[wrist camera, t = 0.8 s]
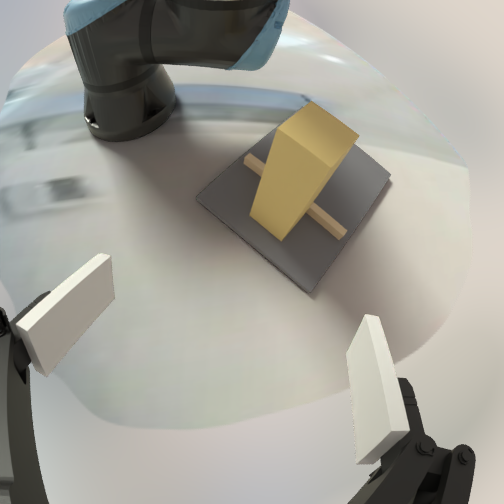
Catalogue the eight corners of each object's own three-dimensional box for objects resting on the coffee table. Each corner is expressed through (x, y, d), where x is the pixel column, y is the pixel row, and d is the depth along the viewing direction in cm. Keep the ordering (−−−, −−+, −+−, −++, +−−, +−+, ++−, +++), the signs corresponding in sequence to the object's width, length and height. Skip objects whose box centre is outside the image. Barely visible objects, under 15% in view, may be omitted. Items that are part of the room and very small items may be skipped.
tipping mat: (308, 293, 34) (314, 290, 32) (196, 199, 36) (195, 190, 34) (388, 177, 42) (395, 169, 40) (301, 109, 44) (305, 100, 41)
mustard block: (281, 241, 35) (331, 167, 20) (249, 215, 35) (277, 127, 20) (304, 214, 37) (359, 135, 22) (274, 189, 37) (311, 100, 22)
